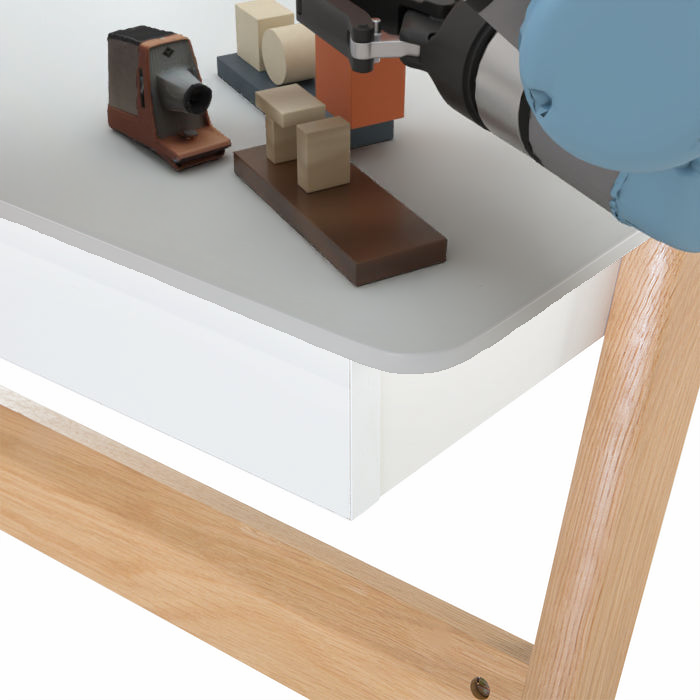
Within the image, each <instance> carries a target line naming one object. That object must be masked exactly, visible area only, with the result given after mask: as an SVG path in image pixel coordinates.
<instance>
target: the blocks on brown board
mask: <svg viewBox="0 0 700 700" xmlns="http://www.w3.org/2000/svg"><path fill="white" fill-rule="evenodd" d="M255 104H256V106H255V107H256V108H257V107H258V108H257V109H258V110H260V111H261V112H262V113H263V114H265V115H264V122H265V144H261V145H257V146H252V147H247V148H243V149H238V150H234V151H233V152H232V155H233V156H232V157H233V172H234V173H235V175H236V176H238V177H239V178H240V179H241V180H242V181H243V182H244V183H245V184H247V186H249V188H251V189H252V190H253V191H254V192H255V193H256V194H257V195H258V196H259V197H260V198H261V199H262V200H264V202H265V203H267V204H268V205H269V206H270V207H271V208H272V209H273V210H274V211H275V212H276V213H277V214H278V215H279V216H281V217H282V218H283V219H284V220H285V221H286V222H287V223H288V224H289V225H290V226H291V227H292V228H293V229H294V230H295V231H297V232H298V233H299V235H301V236H302V237H303V238H304V239H305V240H306V241H307V242H308V243H310V245H311V246H313V247H314V249H316V250H317V251H318V252H319V253H320V254H321V255H322V256H323V257H324V258H325V259H327V260H328V261H329V262H330V263H331V264H332V265H333V266H334V267H335V268H336V269H337V270H338V271H339V272H340V273H341V274H342V275H344V276H345V278H347V279H348V280H349V281H350V282H351V283H352V284H353V285H354V286H355V287H359V286H363V285H367V284H370V283H375V282H377V281H381V280H385V279H388V278H391V277H395V276H399V275H401V274H406V273H409V272H411V271H416V270H419V269H423V268H426V267H430V266H433V265H436V264H440V263H444V262H446V261H447V252H448V238H447V237H446V236H444V235H443V234H442V233H441V232H439V231H438V230H437V229H436V228H434V226H432V225H431V224H429V223H428V222H426V220H424V219H423V218H422V217H421V216H419V215H418V214H417V213H416V212H414V211H413V210H412V209H411V208H410V207H408V206H406V205H405V204H404V203H403V202H401V201H400V200H399V199H398V198H397V197H395V196H394V195H393V194H392V193H390V192H389V191H387V189H385V188H384V187H383V186H382V185H380V184H379V183H378V182H377V181H375V180H374V179H373V178H371V177H370V176H369V175H368V174H366V173H365V172H364V171H363V170H361V169H360V168H359V167H357V165H355V164H354V163H352V162H351V149H350V123H349V122H348V121H346V120H345V119H344V118H342V117H341V116H335V117H331V118H326V119H325V104H323V103H322V102H321V101H319V100H318V99H317V98H315V97H314V96H313V95H311V94H310V93H309V92H307V91H306V90H305V89H303V88H302V87H301V86H299V85H298V84H291V85H286V86H281V87H276V88H271V89H266V90H262V91H257V92H255Z"/></svg>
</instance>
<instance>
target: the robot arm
mask: <svg viewBox="0 0 700 700" xmlns="http://www.w3.org/2000/svg"><path fill="white" fill-rule="evenodd" d="M295 20H296V21H297V22H298V23H301V24H303V25H304V26H305V27H307V28H308V29H309V30H311V31H312V32H313V33H315V34H316V35H317V36H319V37H320V38H321V39H323V40H324V41H326V42H327V43H328V44H330V45H331V46H332V47H334V48H335V49H336V50H338V51H339V52H340V53H342V54H343V55H345V56H346V57H347V58H348V59H349V62H350V66H351V69H352V70H353V71H354V72H358V73H369V72H371V71H373V66H374V63H379V62H380V58H398V57H399V58H400V60H401V62H402V63H403V64H404V65H406V67H408V68H410V69H414V70H419V71H422V72H425V73H427V74H428V76H429V77H430V79H431V81H432V82H433V85H434V87H435V89H436V91H438V93H439V96H441V98H442V100H443V101H444V102H445V103H446V104H447V106H449V107H450V108H452V109H453V110H454V111H456V112H457V113H459V114H460V115H462V116H463V117H465V118H466V119H468V120H470V121H471V122H473V123H474V124H475V125H477V126H479V127H480V128H481V129H483V130H484V131H487V132H489V133H491V134H493V135H494V136H496V137H497V138H499V139H500V140H502V141H503V142H505V143H507V145H509V146H511V147H513V148H514V149H516V150H517V151H520V153H523V154H524V155H526V156H527V157H529V158H531V159H532V160H534V161H535V163H537V164H538V165H540V166H541V167H543V168H545V169H546V170H547V171H549V172H550V173H552V174H553V175H554V176H556V177H558V178H559V179H560V180H562V181H563V182H564V183H566V184H568V185H569V186H570V187H572V188H573V189H575V190H576V191H578V192H579V193H581V194H582V195H584V196H585V197H587V198H588V199H590V200H592V202H594V203H595V204H597V205H598V206H600V207H601V208H603V209H604V210H605V211H607V212H609V214H611V215H612V216H613V217H614V218H615V219H616V220H617V221H618V222H619V223H621V224H623V225H626V226H628V227H630V228H631V227H632V228H633V229H635V230H637V231H639V232H641V233H643V234H644V235H645V236H648V237H650V238H651V239H653V240H654V241H656V242H659V243H662V244H664V245H666V246H669V247H671V248H672V249H674V250H677V251H681V252H684V253H691V254H697V253H700V0H295Z"/></svg>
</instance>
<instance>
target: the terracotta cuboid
mask: <svg viewBox="0 0 700 700" xmlns="http://www.w3.org/2000/svg"><path fill="white" fill-rule="evenodd" d="M315 65H316V98H317V99H318V100H319V101H321V102H322V103H323V104H325V110H327V111H328V112H329V113H331V114H332V115H333V116H334V117H335V116H341V117H342V118H344V119H345V120H346V121H348V122H349V123H350V129H355V128H359V127H364V126H368V125H373V124H377V123H382V122H386V121H391V120H394V121H395V120H399V119H403V118H405V103H406V101H405V99H406V73H407V72H406V71H407V69H406V68H407V66H406V65H404V64H403V63H402V62H401V60H400V58H399V57H398V58H380V62H379V63H374V66H373V71H371V72H369V73H358V72H354V71H353V70H352V69H351V66H350V62H349V59H348V58H347V57H346V56H345V55H343V54H342V53H340V52H339V51H338V50H336V49H335V48H334V47H332V46H331V45H330V44H328V43H327V42H326V41H324V40H323V39H321V38H320V37H319V36H317V35H316V34H315Z"/></svg>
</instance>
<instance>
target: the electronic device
mask: <svg viewBox="0 0 700 700" xmlns="http://www.w3.org/2000/svg"><path fill="white" fill-rule="evenodd" d="M106 41H107V74H108V75H107V77H108V78H107V80H108V81H107V86H108V87H107V91H108V92H107V93H108V104H107V110H106V112H107V114H106V115H107V125H108V127H109V128H110V129H112V130H114V131H117V132H120V133H122V134H124V135H125V136H126V137H128V138H129V139H131V140H133V141H134V142H135V143H137V144H140V145H142V146H143V147H144V148H146V149H150V150H152V151H154V152H155V153H156V154H157V155H158V156H160V157H161V158H162V159H163V160H164V161H165V162H167V163H169V164H170V167H171V168H173V170H175V171H181V170H185V169H187V168H190V167H195V166H197V165H202V164H203V163H204V164H205V163H207V162H211V161H215V160H219V159H221V158H222V157H224V155H225V154H226V149H228V148H229V149H230V147H232V144H233V143H232V140H231V138H229V137H228V136H226V135H225V134H224V133H222V132H221V131H220V130H219V129H217V128H216V127H215V126H213V124H212V121H211V119H210V115H209V110H208V109H209V108H210V105H211V102H212V99H213V91H212V89H211V87H209V86H208V85H207V84H205V83H203V78H202V75H201V73H200V69H199V66H198V61H197V57H196V55H195V51H194V48H193V47H194V46H193V45H192V41H191V39H190V38H189V37H188V36H184V35H183V34H182V33H180V34H179V33H176V32H174V31H171V30H164V29H159V28H156V27H151V26H148V25H143V24H141V25H140V24H139V25H136V26H133V27H127V28H125V29H117V30H114V31H111V32H108V34H107V37H106Z"/></svg>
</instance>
